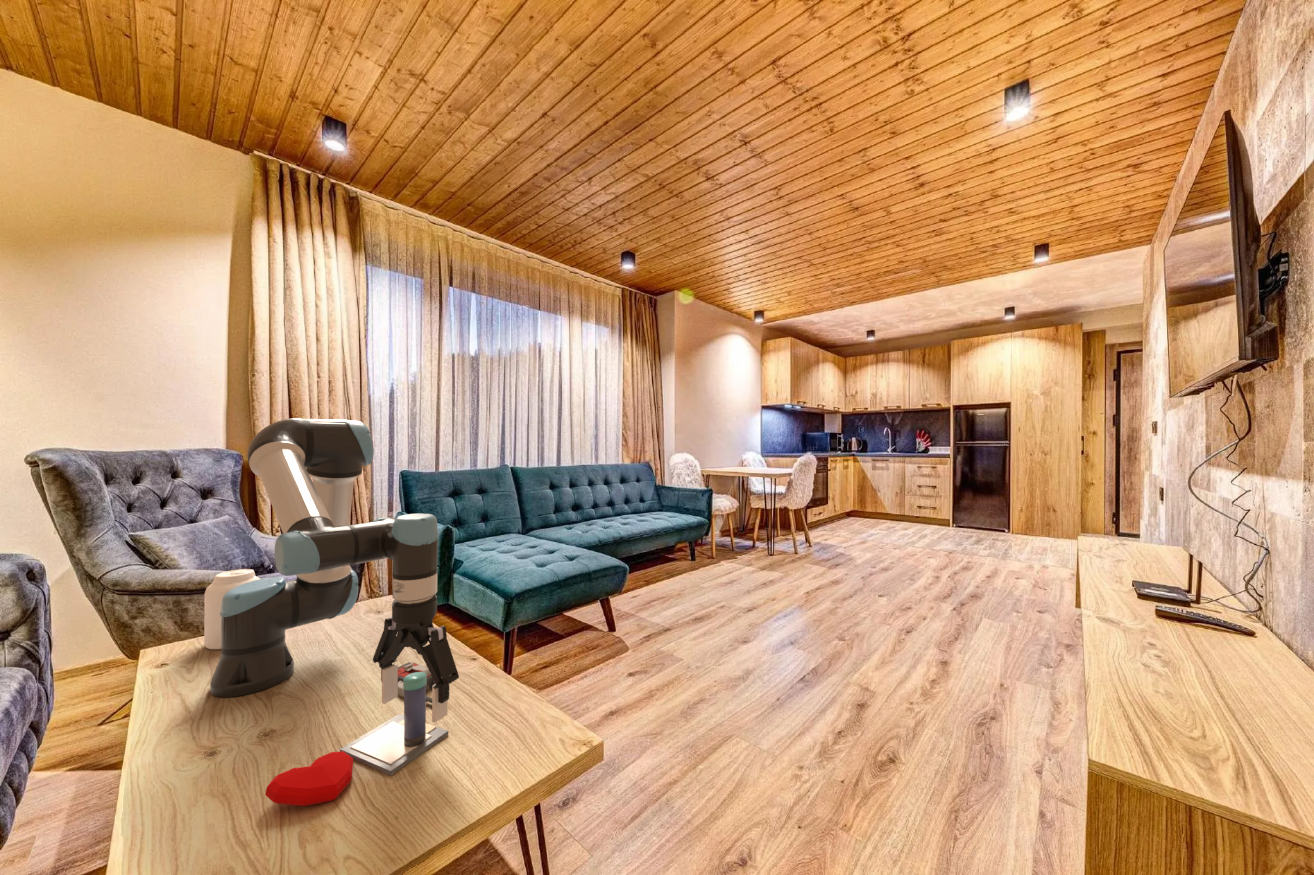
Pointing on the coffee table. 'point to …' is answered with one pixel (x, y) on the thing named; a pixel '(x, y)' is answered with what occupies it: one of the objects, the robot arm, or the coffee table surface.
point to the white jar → (214, 602)
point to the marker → (414, 709)
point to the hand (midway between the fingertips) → (413, 709)
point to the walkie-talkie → (410, 669)
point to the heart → (312, 781)
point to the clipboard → (390, 746)
